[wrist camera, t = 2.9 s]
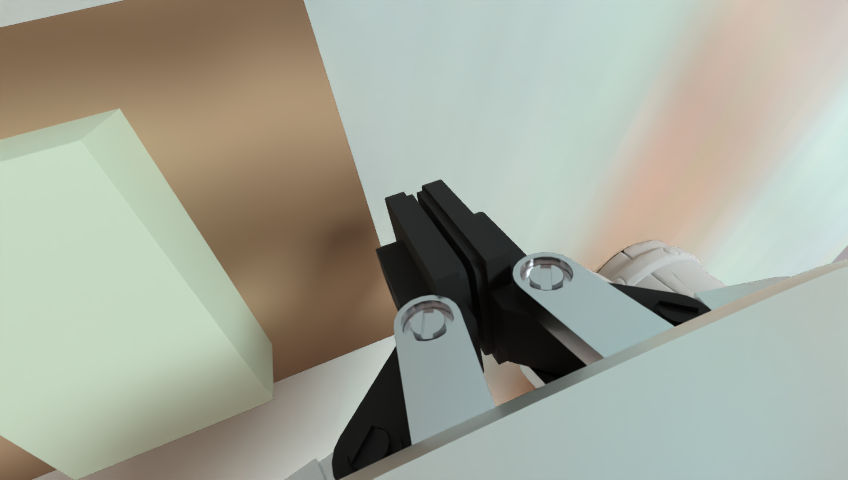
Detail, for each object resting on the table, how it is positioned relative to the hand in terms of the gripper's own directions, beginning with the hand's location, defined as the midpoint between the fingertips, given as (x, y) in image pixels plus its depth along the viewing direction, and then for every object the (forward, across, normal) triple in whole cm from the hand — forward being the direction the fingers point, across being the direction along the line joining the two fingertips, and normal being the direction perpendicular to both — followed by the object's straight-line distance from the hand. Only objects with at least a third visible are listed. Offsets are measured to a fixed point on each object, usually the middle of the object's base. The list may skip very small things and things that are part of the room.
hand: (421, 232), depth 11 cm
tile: (+1, +9, 0) cm, 9 cm away
